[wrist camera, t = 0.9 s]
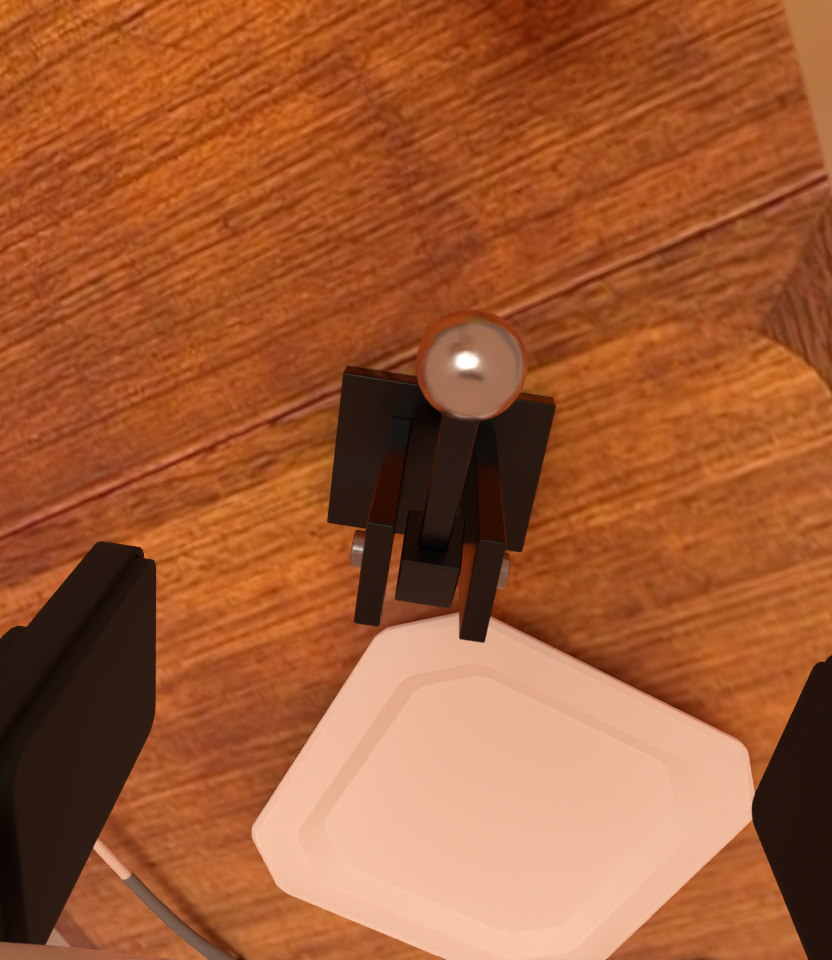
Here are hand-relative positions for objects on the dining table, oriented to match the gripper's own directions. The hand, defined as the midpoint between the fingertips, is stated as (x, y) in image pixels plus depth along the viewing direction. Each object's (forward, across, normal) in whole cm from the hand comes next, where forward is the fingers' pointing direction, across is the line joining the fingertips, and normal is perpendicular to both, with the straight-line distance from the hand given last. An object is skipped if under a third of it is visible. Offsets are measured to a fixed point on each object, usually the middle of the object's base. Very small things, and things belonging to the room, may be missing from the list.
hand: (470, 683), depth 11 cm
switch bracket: (+27, 0, +9) cm, 29 cm away
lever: (+17, 0, +3) cm, 17 cm away
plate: (+27, -7, +31) cm, 42 cm away
